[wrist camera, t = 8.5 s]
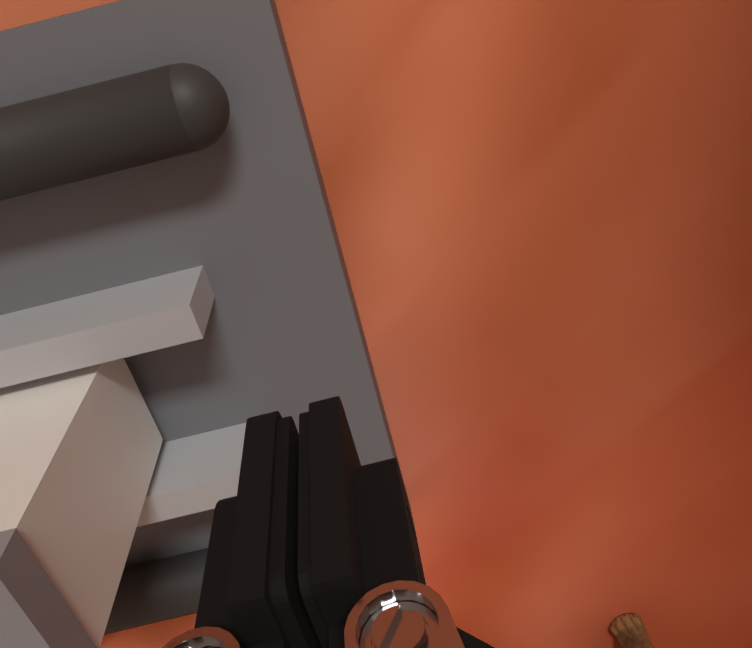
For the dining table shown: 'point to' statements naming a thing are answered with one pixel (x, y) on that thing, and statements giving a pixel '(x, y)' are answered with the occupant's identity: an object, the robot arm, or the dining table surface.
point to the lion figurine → (630, 631)
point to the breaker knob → (69, 501)
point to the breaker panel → (175, 251)
